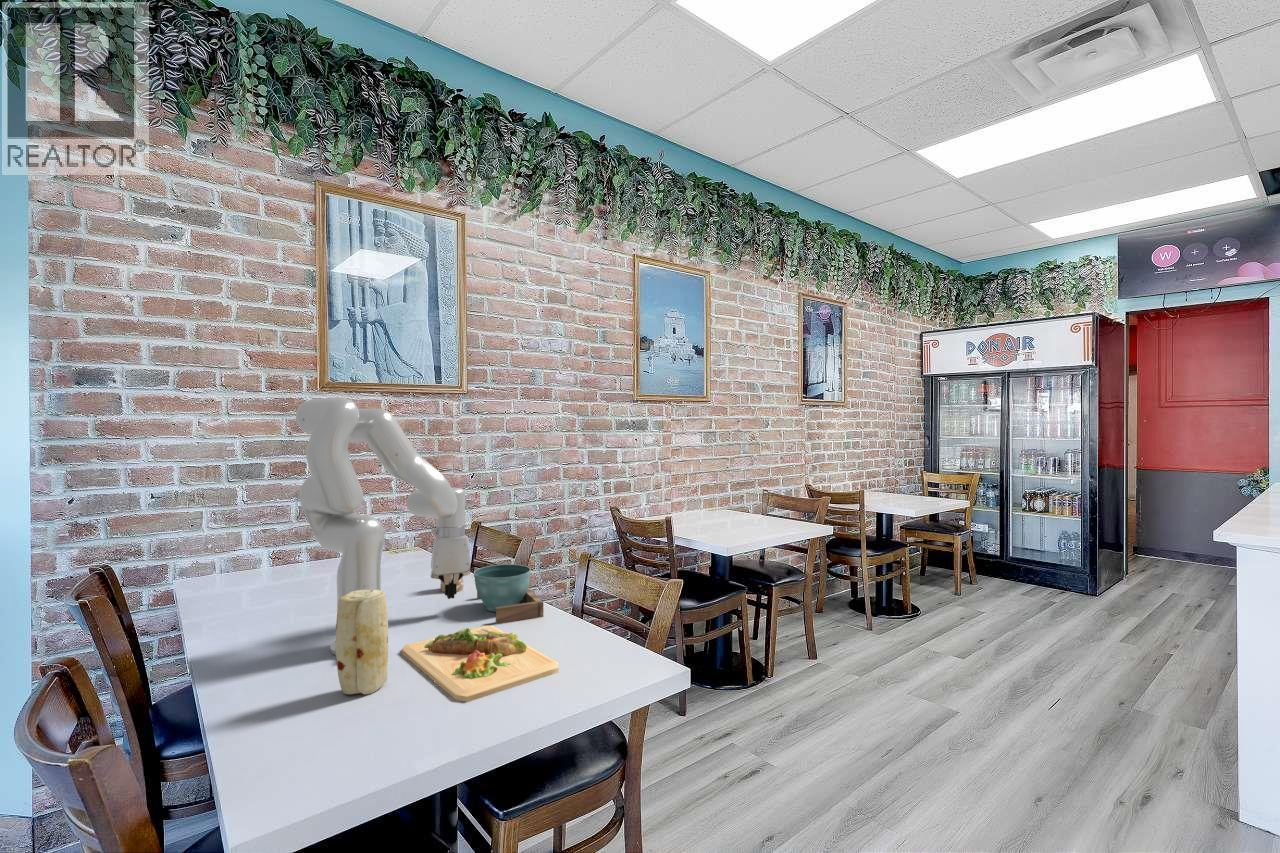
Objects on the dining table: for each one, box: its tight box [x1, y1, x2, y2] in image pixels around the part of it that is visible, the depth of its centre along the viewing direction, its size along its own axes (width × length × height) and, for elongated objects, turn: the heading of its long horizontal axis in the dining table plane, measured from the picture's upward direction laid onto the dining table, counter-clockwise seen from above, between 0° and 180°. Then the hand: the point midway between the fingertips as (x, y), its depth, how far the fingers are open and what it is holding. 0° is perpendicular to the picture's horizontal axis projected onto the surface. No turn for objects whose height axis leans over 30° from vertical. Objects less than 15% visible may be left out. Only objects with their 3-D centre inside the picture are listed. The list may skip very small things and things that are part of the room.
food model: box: [335, 590, 389, 695], centre depth 119 cm, size 10×7×20 cm
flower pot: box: [473, 563, 532, 613], centre depth 172 cm, size 16×16×11 cm
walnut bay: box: [476, 588, 544, 625], centre depth 172 cm, size 26×13×4 cm, turn 27°
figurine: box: [440, 574, 465, 593], centre depth 190 cm, size 7×7×12 cm
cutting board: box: [401, 625, 560, 703], centre depth 134 cm, size 35×23×8 cm
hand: (450, 597), depth 166 cm, fingers closed
